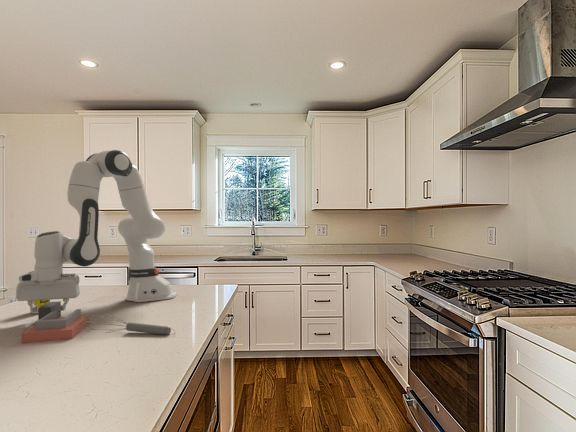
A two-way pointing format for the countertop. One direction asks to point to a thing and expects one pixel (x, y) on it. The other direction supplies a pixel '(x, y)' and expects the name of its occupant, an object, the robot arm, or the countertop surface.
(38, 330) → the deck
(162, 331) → the kitchen whisk
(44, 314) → the dark gray eraser
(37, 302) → the supplement bottle
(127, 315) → the countertop surface
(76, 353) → the countertop surface
